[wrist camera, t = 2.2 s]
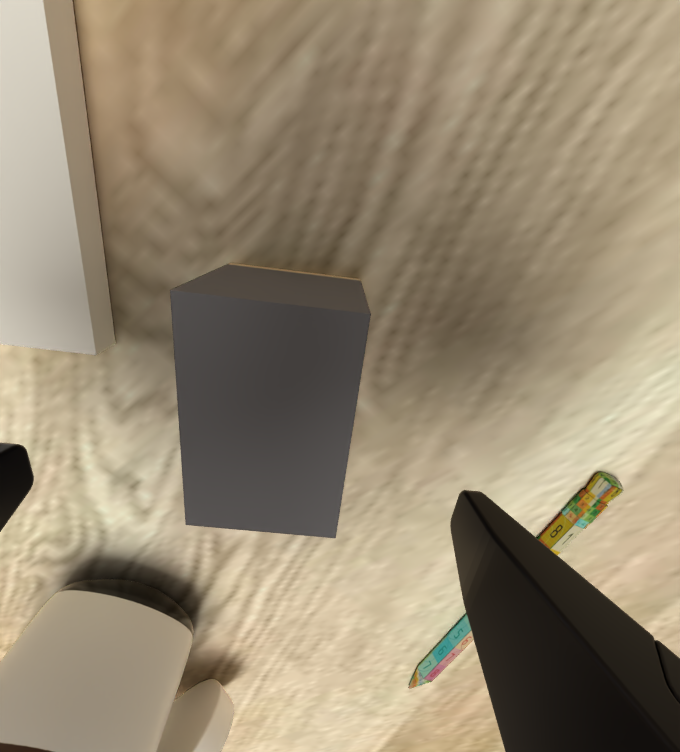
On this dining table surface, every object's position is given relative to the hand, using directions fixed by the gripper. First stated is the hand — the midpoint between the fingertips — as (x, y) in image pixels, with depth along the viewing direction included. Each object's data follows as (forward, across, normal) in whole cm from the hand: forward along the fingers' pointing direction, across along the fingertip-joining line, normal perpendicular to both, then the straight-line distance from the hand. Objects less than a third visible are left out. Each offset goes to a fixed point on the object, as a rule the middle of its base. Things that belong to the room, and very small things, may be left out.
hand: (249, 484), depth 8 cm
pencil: (+8, -12, +12) cm, 18 cm away
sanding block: (+7, 0, 0) cm, 7 cm away
